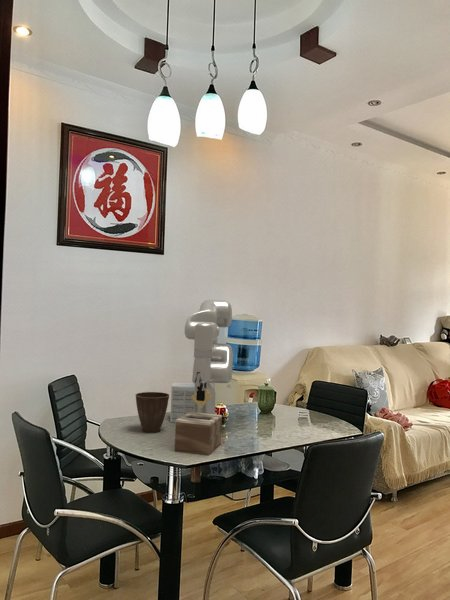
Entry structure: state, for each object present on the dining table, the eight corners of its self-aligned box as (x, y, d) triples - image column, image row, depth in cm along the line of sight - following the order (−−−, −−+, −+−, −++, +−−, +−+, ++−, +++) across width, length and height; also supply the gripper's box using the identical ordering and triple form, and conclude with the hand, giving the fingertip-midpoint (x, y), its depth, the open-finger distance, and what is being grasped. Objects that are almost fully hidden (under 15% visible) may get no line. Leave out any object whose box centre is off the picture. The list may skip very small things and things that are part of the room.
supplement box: (171, 416, 258) (172, 381, 258) (197, 417, 259) (198, 382, 259) (169, 422, 245) (171, 386, 245) (197, 423, 245) (198, 386, 245)
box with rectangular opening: (188, 440, 214) (189, 411, 214) (220, 444, 210) (221, 415, 210) (174, 450, 198) (175, 419, 199) (209, 455, 195) (210, 423, 195)
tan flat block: (213, 396, 204) (202, 407, 205) (202, 385, 205) (192, 396, 207) (211, 397, 202) (200, 408, 203) (200, 386, 203) (190, 397, 204)
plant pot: (127, 431, 225) (128, 395, 225) (147, 424, 238) (148, 390, 238) (155, 436, 218) (156, 399, 218) (174, 429, 231) (175, 394, 231)
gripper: (200, 351, 213) (198, 396, 213) (187, 355, 198) (185, 402, 198) (217, 353, 211) (216, 397, 211) (206, 356, 196) (204, 404, 196)
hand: (201, 399), depth 204 cm, fingers closed on tan flat block, 2 cm apart
